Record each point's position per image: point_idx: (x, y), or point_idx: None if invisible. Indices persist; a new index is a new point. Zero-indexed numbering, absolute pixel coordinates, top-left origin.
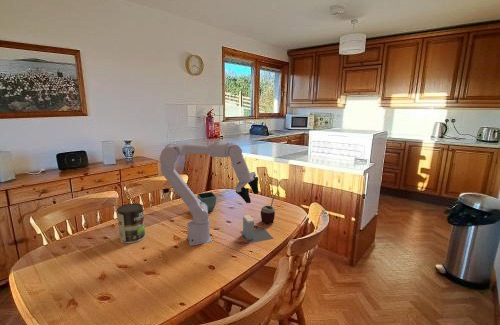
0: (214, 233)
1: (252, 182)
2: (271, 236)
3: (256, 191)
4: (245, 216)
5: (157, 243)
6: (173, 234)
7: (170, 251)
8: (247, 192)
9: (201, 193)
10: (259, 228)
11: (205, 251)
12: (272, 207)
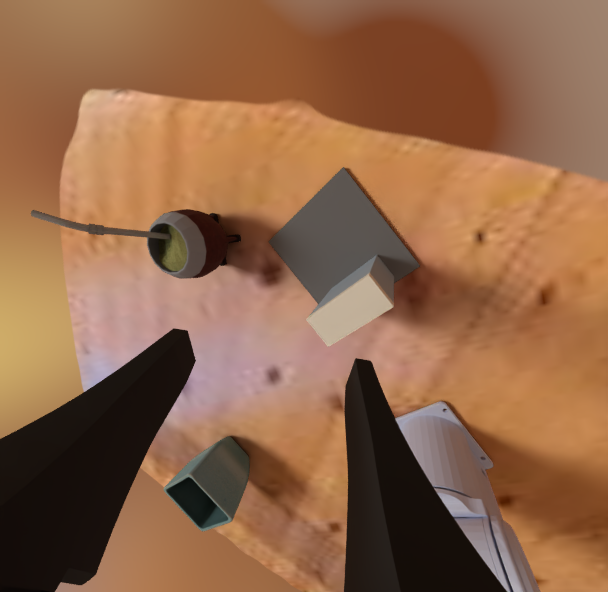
0: None
1: (73, 510)
2: (327, 183)
3: (173, 358)
4: (334, 333)
5: None
6: None
7: (545, 513)
8: (432, 536)
9: (192, 518)
10: (281, 256)
11: (521, 409)
12: (154, 226)
